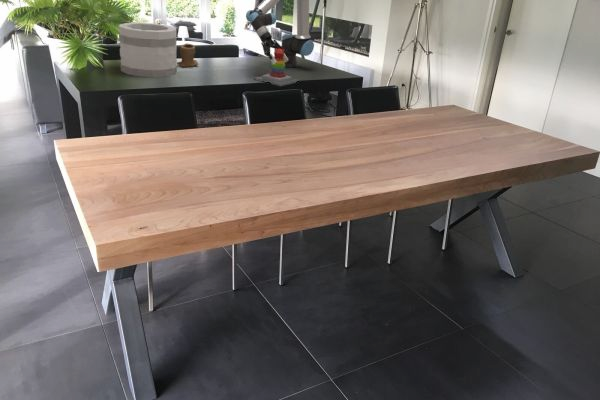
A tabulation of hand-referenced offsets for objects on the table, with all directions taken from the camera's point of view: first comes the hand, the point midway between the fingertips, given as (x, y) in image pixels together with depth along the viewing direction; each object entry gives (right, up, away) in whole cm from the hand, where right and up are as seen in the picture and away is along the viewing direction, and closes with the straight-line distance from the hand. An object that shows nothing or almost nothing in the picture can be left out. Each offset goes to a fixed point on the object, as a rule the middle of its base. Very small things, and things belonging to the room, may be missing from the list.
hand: (281, 62), depth 330 cm
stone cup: (-65, +2, +20) cm, 68 cm away
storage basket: (-86, -7, -5) cm, 86 cm away
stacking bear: (-3, -8, +6) cm, 10 cm away
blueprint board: (-3, -11, +7) cm, 13 cm away
